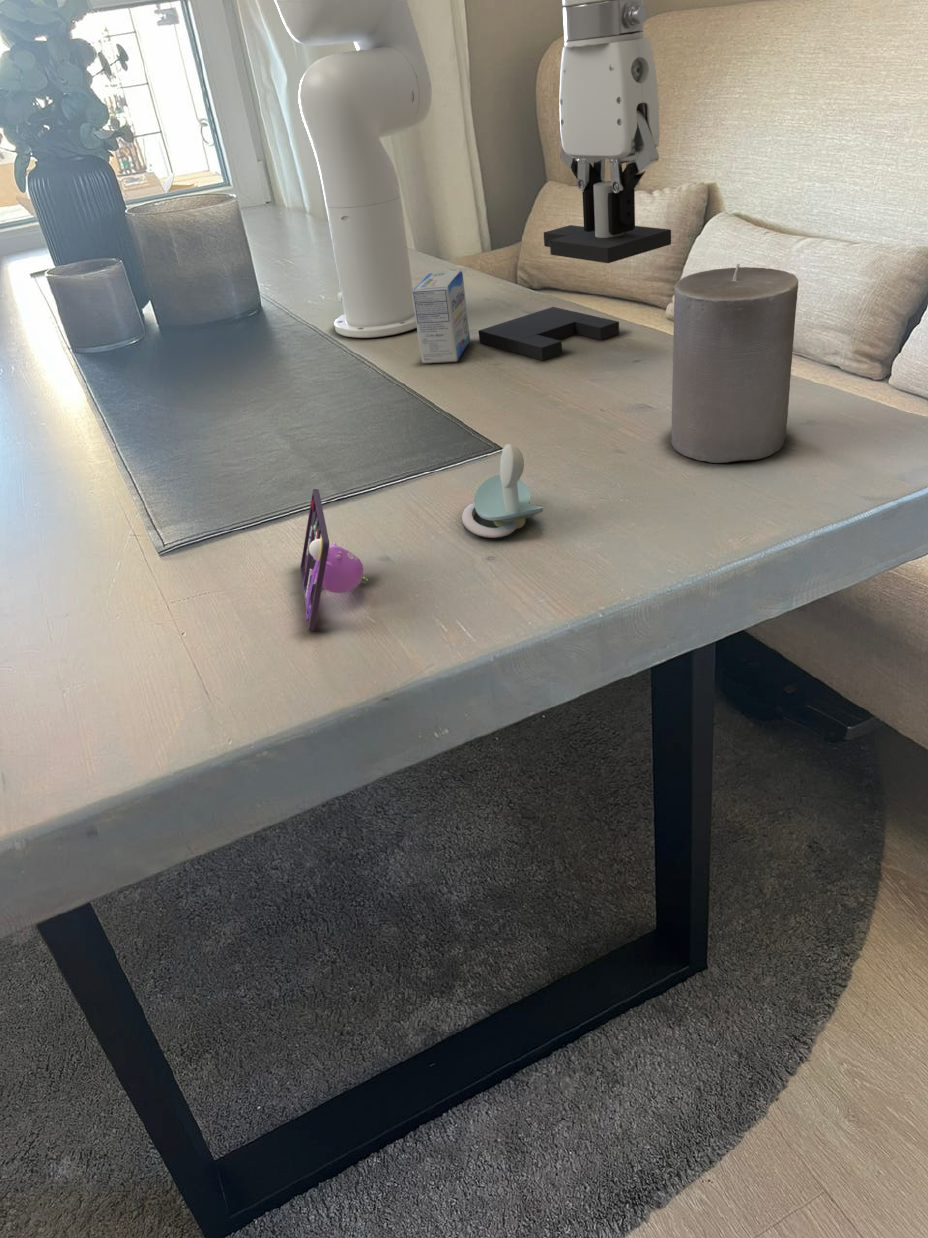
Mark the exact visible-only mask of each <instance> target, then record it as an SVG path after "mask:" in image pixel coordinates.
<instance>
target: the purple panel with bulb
mask: <svg viewBox="0 0 928 1238" xmlns="http://www.w3.org/2000/svg"><path fill="white" fill-rule="evenodd" d="M304 536H305V537H304V541H303V548H302V549H303V550H302V555H301V561H300V567H299V569H300V570H299V572H300V580H301V587H302V594H303V602H304V608H305V609H304V610H305V616H306V617H305V621H306V624H307V631H312V632H314V631H315V629H316V622H317V618H318V617H317V616H318V611H319V607H320V606H319V605H320V600H321V595H322V589H324V590H326V591H328V592H331V593H333V594H343V593H348V592H350V591H351V592H352V590H354V589H355V588H357V586H359V584H361V583H364V584H366V582H368V581H369V579H368V578H367V576H365V575H364V566H363V563H362V561H361V559H360V558H359V557H358V556H356V555H355V554H354V553H352V552H351V551H349V550H347V549H345V548H344V547H342V546H338V544H336V542H333V543H332V544H331V545H330V540H329V534H328V529H327V524H326V519H325V513H324V509H323V504H322V497H321V493H320V489H319V488H312V493H311V500H310V506H309V513H308V518H307V523H306V530H305V535H304ZM314 585H315V587H314ZM313 587H314V594H313V600H311V594H312V591H313Z"/></svg>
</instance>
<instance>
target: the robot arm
mask: <svg viewBox="0 0 928 1238" xmlns="http://www.w3.org/2000/svg"><path fill="white" fill-rule="evenodd" d="M274 2H275V5H276V8H277V10H278V13H279V15H280V18H281V20H282V23H283V25H284V28H285V29H286V31H287V32H288V34H289V35H290V37H291V38H292V39H293V40H294V41H295V42H297V43H298V44H301V45H302V46H303V45H304V46H308V47H321V46H332V45H339V44H347V43H348V44H349V43H353V44H354V47H355V49H356V50H350V51H344V52H343V51H342V52H338V53H332V54H329V55H326V56H323V57H322V58H319V59H317V60H315V61H314V62H313V63H312V64H311V65H309V67H308V68H307V69H306V70H305V72H304V74H303V75H302V78H301V80H300V83H299V89H298V105H299V109H300V114H301V117H302V121H303V123H304V127H305V129H306V132H307V135H308V137H309V141H310V143H311V147H312V149H313V152H314V157H315V160H316V164H317V168H318V173H319V177H320V182H321V187H322V192H323V199H324V204H325V209H326V215H327V220H328V225H329V233H330V237H331V244H332V250H333V256H334V261H335V266H336V267H335V268H336V273H337V278H338V283H339V290H340V291H339V292H338V293H337V295H336V300H337V302H338V303H341V304H342V306H343V307H342V308H343V312H344V314H342V315H340V316H338V318H337V319H335V321H334V329H335V331H336V334H337V333H338V334H339V335H341V336H343V337H347V338H356V339H357V338H358V339H366V338H367V339H368V338H369V339H370V338H382V337H388V336H394V335H398V334H402V333H406V332H409V331H412V330H415V329H417V325H416V319H415V312H414V305H413V297H412V291H413V290H414V289H413V280H412V279H413V278H412V273H411V266H410V265H411V264H410V257H409V250H408V243H407V242H408V241H407V234H406V233H407V232H406V226H405V218H404V212H403V205H402V198H401V197H402V196H401V190H400V182H399V179H398V174H397V171H396V168H395V166H394V163H393V161H392V160H391V157H390V155H389V154H388V152H387V151H386V149H385V148H384V146H383V143H382V141H381V139H382V138H387V137H390V136H394V135H398V134H402V133H406V132H409V131H411V130H414V129H416V128H417V127H419V126H420V125H421V124H423V122H424V121H425V120H426V118H427V116H428V114H429V111H430V109H431V105H432V104H431V103H432V93H433V92H432V83H431V77H430V72H429V68H428V65H427V61H426V58H425V54H424V51H423V48H422V45H421V42H420V40H419V35H418V32H417V28H416V26H415V23H414V19H413V16H412V12H411V9H410V6H409V3H408V0H274ZM561 3H562V5H561V6H562V22H563V23H562V24H563V25H562V26H563V45H564V46H563V47H562V52H561V60H560V71H559V72H560V73H559V75H560V76H559V131H560V140H561V146H562V147H561V151H560V155H559V157H560V160H561V162H562V163H564V164H565V166H567V167H568V168H569V169H570V170H571V172H572V173H573V175H574V177H575V178H576V180H577V184H576V185H577V189H578V190H579V191H580V192H582V215H583V227H584V230H585V231H586V232H592V231H595V214H594V187H593V185H594V184H596V183H600V182H605V177H606V175H605V174H606V159H608V161H609V172H610V181H611V185H612V190H613V192H612V193H608V225H609V233H610V234H611V235H617V234H621V233H624V232H628V231H631V230H633V229H634V228H635V226H636V202H635V201H636V199H635V197H636V196H635V195H636V194H635V189H638V188H639V186H640V184H641V182H640V180H641V179H642V177H643V176H644V175H645V173H646V171H648V170H649V169H651V168H652V167H653V166H654V165H655V164H657V163H658V162H659V159H660V157H659V152H658V150H657V148H658V147H659V144H660V135H661V133H660V129H661V128H660V126H661V125H660V104H659V90H658V89H659V88H658V80H657V70H656V63H655V56H654V51H653V46H652V43H651V38H650V36H645V31H644V30H645V29H644V28H645V27H644V25H645V24H644V23H645V22H646V21H647V19H648V15H649V14H648V13H649V12H648V9H647V7H646V5H644V0H561ZM592 164H593V165H592ZM623 164H625V168H624V169H623Z"/></svg>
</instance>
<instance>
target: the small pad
mask: <svg viewBox="0 0 928 1238" xmlns="http://www.w3.org/2000/svg"><path fill="white" fill-rule="evenodd" d="M593 187H594V214H595V231H592V232H586V231H585V230H584V226H581V225H571V224H570V225H565V226H562V227H558V228H554V229H551V230H547V231H544V232H543V246H544V247H545V248H546V247H547V248H549V249H550V250H549V252H550V255H551V256H557V257H562V258H563V257H564V258H570V259H577V260H582V261H583V260H584V261H589V262H591V261H592V262H597V263H604V264H611V263H615V262H617V261H621V260H624V259H627V258H631V257H635V256H638V255H641V254H644V253H647V252H650V251H655V250H657V249H658V250H659V249H660V248H663V247H667V246H670V245H672V229H668V228H661V227H650V226H640V225H635V228H634V229H633V230H631V231H628V232H624V233H621V234H617V235H611V234H610V233H609V225H608V193H612V192H613V190H612V185H611V180H604V182H600V183H596V184H594V185H593Z"/></svg>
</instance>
